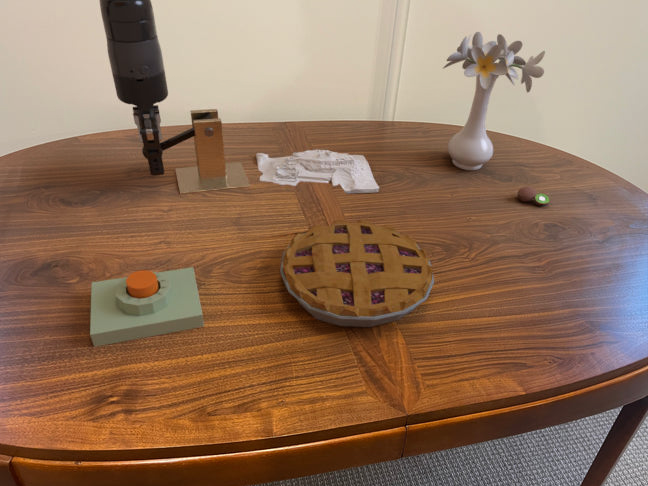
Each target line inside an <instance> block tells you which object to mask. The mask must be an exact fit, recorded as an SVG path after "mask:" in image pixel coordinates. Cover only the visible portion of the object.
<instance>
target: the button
mask: <svg viewBox="0 0 648 486" xmlns="http://www.w3.org/2000/svg"><path fill="white" fill-rule="evenodd" d="M151 271H152V270H147V269H145V270H143V269H142V270H136V271H134V272H132V273H130V274H129V275H128V276H126V277H127V279H126V284H127V288H128V292H129V294H130V296H132V297H133V298H138V299H141V298H147V297H150V296H152V295H154V294H156V293H157V291H158V289H159V286H158V281H157V277H156V275H155V273H153V272H154V271H152V272H151Z"/></svg>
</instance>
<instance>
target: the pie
mask: <svg viewBox="0 0 648 486" xmlns="http://www.w3.org/2000/svg"><path fill="white" fill-rule="evenodd" d="M428 255H429V254H428V252H427V251H426V249H423V248H422V249H421V248H420V246H419V245H418V243H417V240H416V239H414V238H413V237H412V236H410V235H409V234H401V232H399V231H397V228H396V227H395V226H392V225H388V224H385V225H377V224H372V223H371V222H370V221H366V220H364V219H363V220H362V219H359V220H358V221H357V222H351V223H350V222H347V221H346V220H344V219H339V220H334V221H332V223H331V224H328V225H320V224H316V225H313V226H310V228H309V229H308V230H307V231H306V232H304V233H296V234H295V235H294V236H293V237H292V239H291V241H290V243H289V245H287V247H286V248H285V249H284V251H283V252H282V255H281V263H280V270H279V273H280V275H281V277H282V280H283V282H284V285H285V288H286V289H287V293H289V294H290V295H291V296H293V297H294V298H295V299H296V300H297V302H298V304H299V305H300V306H301V307H302V308H303V309H304V310H305V311H307V313H309V314H310V315H311V316H312V317H313V318H314V319H316V320H318V321H322V322H325V323H329V324H332V325H334V326H338V327H355V328H372V327H376V326H380V325H384V324H389V323H393V322H396V321H399V320H400V319H401V318H404V317H405V316H407V315H408V314H410V313H411V312H413V311H414V310H415V309H416V308H417V307H418V306H419V305H420V304H422V303H424V302H425V301H427V300H428V297H429V295H430V293H431V290H432V289H433V286H434V283H435V277H434V273H433V266H432V264H431V261H430V259H429V256H428Z"/></svg>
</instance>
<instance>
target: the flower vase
mask: <svg viewBox="0 0 648 486" xmlns="http://www.w3.org/2000/svg"><path fill="white" fill-rule="evenodd" d="M471 36H472V35H471V34H469V36H468V37H467V35H466V36H465V37H463V39H462V41H461V43H460V45H459V46H458V47H457V48H456V51H454V52H453V53H451V54H450V55H449V56H448V57H447V58H446V62H448V63H446V64H445V65H444V66H443V67H442V69H446V68H448V67H450V66H452V65H455V64H457V63H461V62H463V63H462V69H463V70H464V71H463V74H464V76H465V77H466V78H474V77H475V88H474V94H473V99H472V102H471V103H472V104H471V107H470V111H469V114H468V118H467V120H466V122H465V124H464V125H463V127H462V129H460V130H459V131H458V132H456V133H455V134H454V135H452V136H451V137H450V139H449V141H448V143H447V146H446V148H447V153H448V155H449V156H450V158H451V160H452V164H453V165H454V167H456V168H459V169H461V170H465V171H477V170H480V169H481V168H482V167H483V165H485V164H486V163H488V162H489V161H490V160H491V159H492V157H493V155H494V145H493V142H492V139H491V138H490V137H489V135H488V134H487V128H486V120H487V113H488V108H489V104H490V98H491V95H492V91H493V88H494V85H495V84H496V81H497V79H499V77H501V76H505V77H507V79H508V81H510V82H511V84H512V85H513V86H515V80H519V75H518V72H517V70H516V69H515V68H518V69H521V77H520V78H521V79H520V84H521V85H522V84H525V90H526V93H530V91H532V86H533V79H532V78H534V79H539V78H542V77H543V76H544V74H545V70H544V68H543V67H542V66H539V65H538V64H539V63H541V61H542V60H543V59H544V57H545V55H546V51H545V50H543V51H541V52H540V53H538V54H537V55H536V56H533V55H531V56H530V57H529V59H527V61H526V60H525V59H524V58H523V57H521V56H518V55H517V54H518V53H519V52H520V51H521V50H522V48H523V42H522V41H521V40H515V41H513V42H511V43H510V44H509V45H508V42H507V40H506V38H505V37H504V36H503V35H502V34H501V33H499V34H497V35H496V41H495V40H491V41H488V42H486V43H484V38H483V34H482V33H481V31H476V32H475V33H474V34H473V36H472V39H471ZM470 40H471V45H470ZM497 60H499V61H498V62H497ZM514 79H515V80H514Z"/></svg>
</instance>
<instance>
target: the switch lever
mask: <svg viewBox="0 0 648 486" xmlns="http://www.w3.org/2000/svg"><path fill="white" fill-rule="evenodd" d="M203 119H213V118H212V116H211V114H208V115H206V116H204V117H202V118H200V119H197V120H203ZM194 136H195V131H194V127H193V128H192V127H191V128H189V129H187V130H185V131H183V132H181V133H179V134H176V135H174V136H173V137H170V138H168V139H166V140H163V141H161V142H160V147H161V149H162V153H163V152H164V151H166V150H168V149H170V148H172V147H174V146H176V145H178V144H181V143H183V142H185V141H187V140H189V139H191V138H194ZM144 151H145V150H144V145H143V146H142V148H141V152H142V156H143V157H144V158H145V159H146V160H148V158H146V155H145V154H144ZM163 154H164V153H163Z"/></svg>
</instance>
